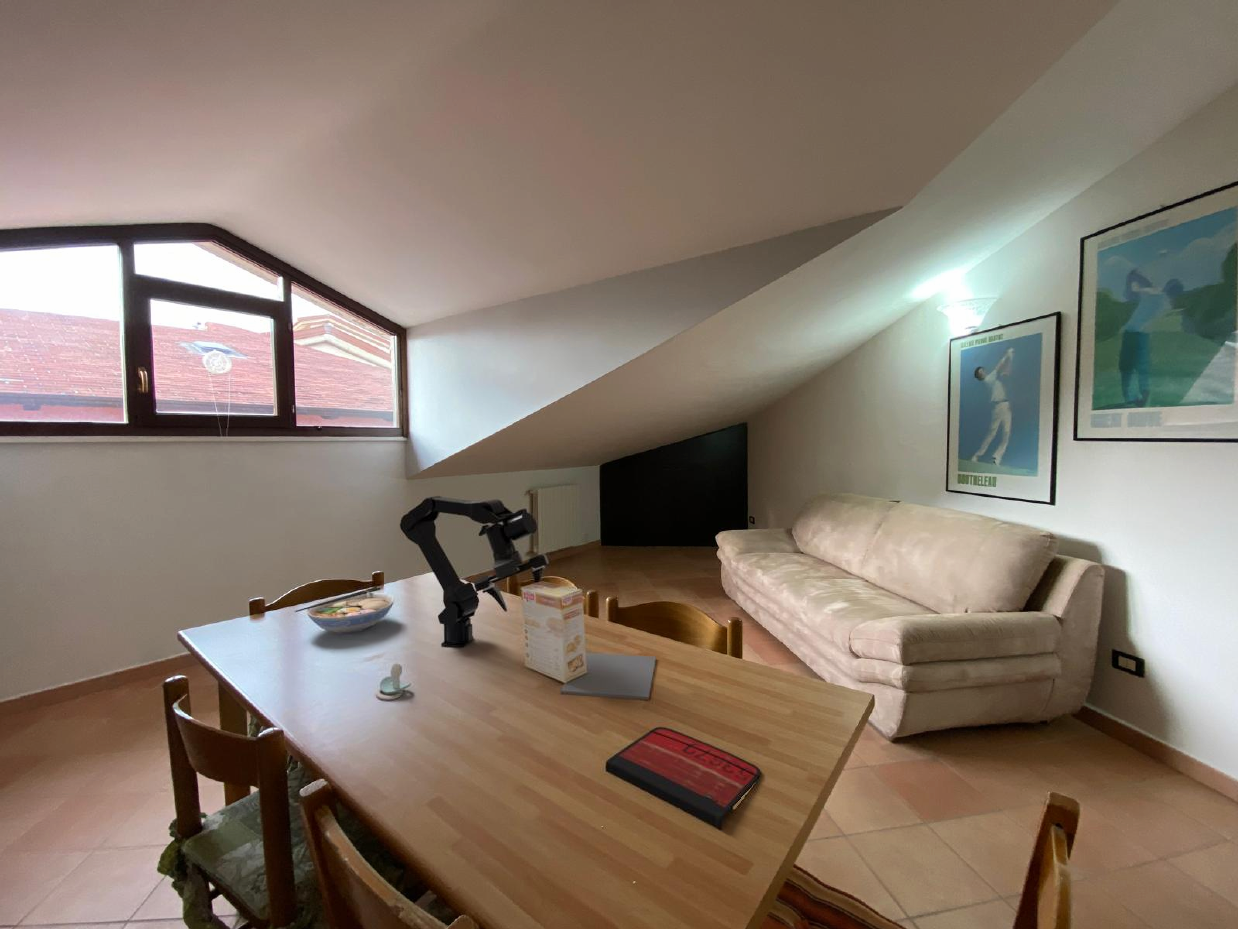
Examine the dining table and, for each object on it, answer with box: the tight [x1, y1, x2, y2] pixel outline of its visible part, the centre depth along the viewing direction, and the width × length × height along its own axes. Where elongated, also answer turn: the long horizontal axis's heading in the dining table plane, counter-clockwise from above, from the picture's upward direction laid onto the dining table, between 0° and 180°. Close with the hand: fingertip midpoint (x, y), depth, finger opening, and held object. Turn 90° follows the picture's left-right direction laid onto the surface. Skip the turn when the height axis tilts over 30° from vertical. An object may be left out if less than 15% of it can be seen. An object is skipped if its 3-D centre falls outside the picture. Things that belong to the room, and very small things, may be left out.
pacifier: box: [374, 662, 412, 701], centre depth 109 cm, size 7×6×6 cm
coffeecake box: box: [520, 580, 587, 684], centre depth 119 cm, size 15×7×20 cm, turn 47°
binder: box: [605, 726, 762, 831], centre depth 83 cm, size 16×2×21 cm
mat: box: [560, 652, 657, 701], centre depth 117 cm, size 19×20×1 cm
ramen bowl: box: [293, 586, 395, 634], centre depth 146 cm, size 25×23×8 cm
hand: (523, 604), depth 128 cm, fingers open, 9 cm apart
